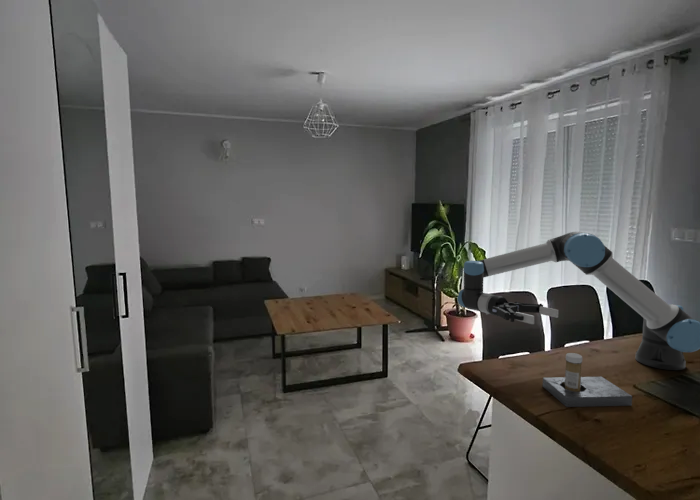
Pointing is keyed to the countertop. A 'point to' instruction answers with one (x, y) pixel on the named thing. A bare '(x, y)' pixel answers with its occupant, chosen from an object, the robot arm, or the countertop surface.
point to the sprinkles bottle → (573, 372)
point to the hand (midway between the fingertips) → (546, 316)
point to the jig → (588, 392)
